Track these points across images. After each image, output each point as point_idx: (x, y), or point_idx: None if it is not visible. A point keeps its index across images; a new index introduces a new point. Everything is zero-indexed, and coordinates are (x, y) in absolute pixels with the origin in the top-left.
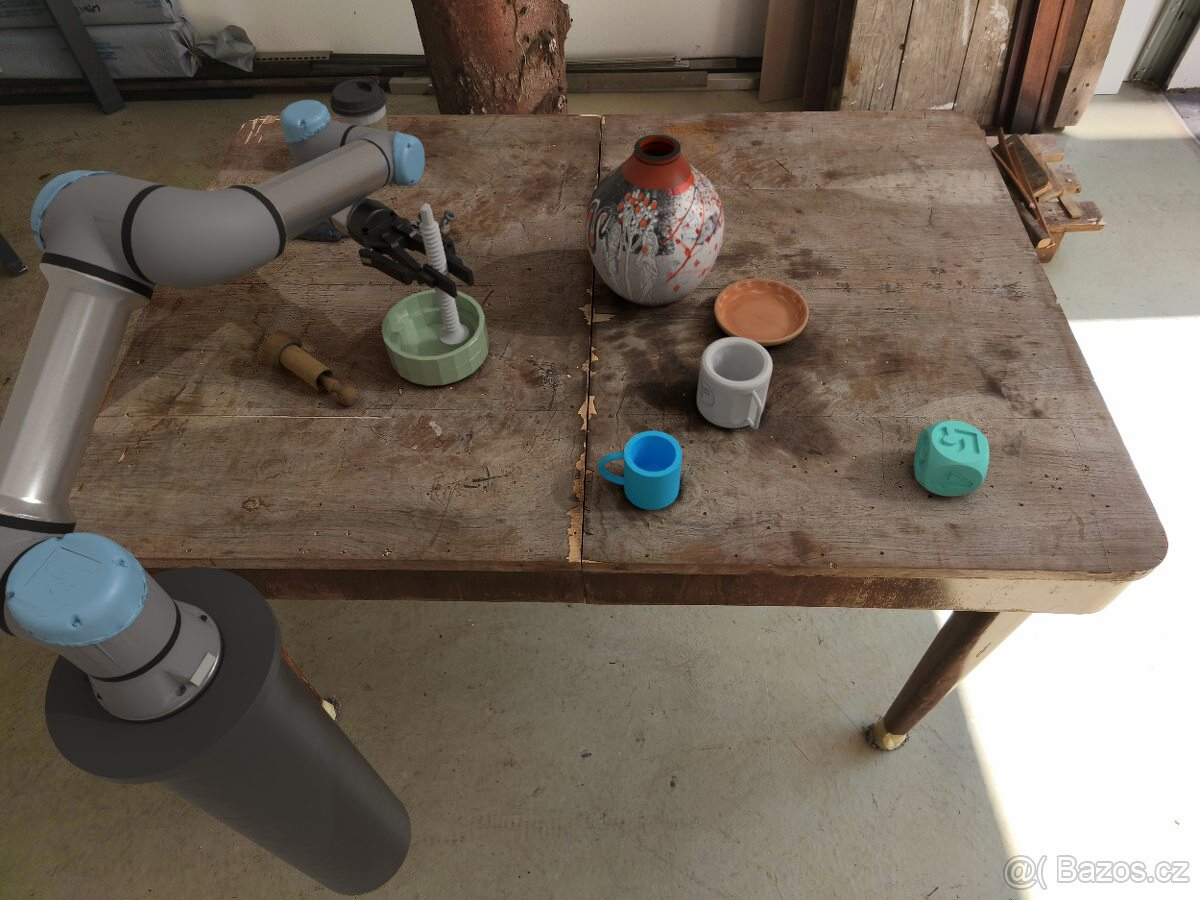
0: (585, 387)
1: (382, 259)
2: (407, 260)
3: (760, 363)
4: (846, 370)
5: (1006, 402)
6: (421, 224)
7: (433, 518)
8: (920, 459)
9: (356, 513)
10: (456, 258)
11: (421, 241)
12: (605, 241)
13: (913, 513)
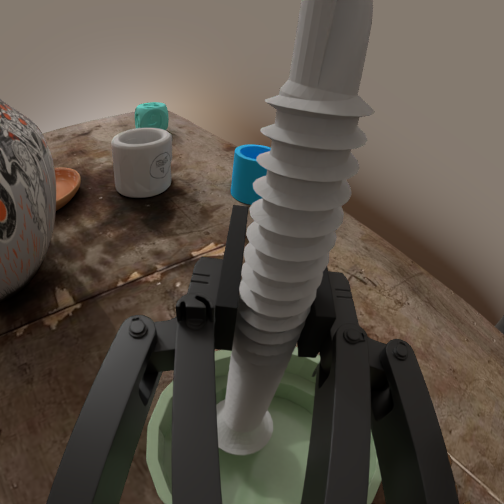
0: (184, 264)
1: (440, 471)
2: (363, 391)
3: (130, 138)
4: (86, 161)
5: (93, 130)
6: (361, 102)
7: (413, 285)
8: (155, 124)
9: (466, 333)
10: (202, 275)
11: (212, 446)
12: (21, 175)
13: (181, 133)
